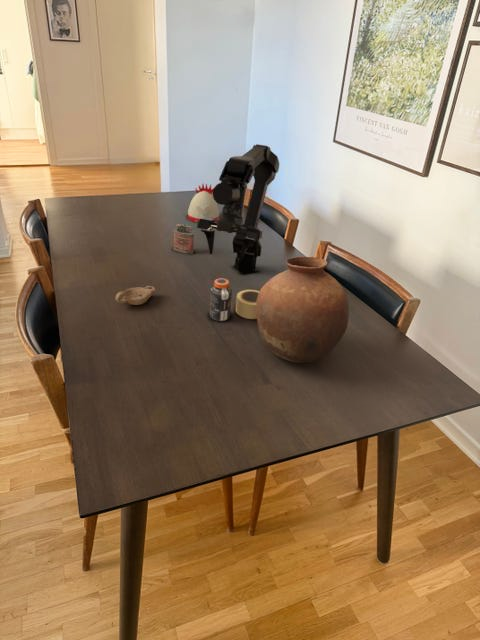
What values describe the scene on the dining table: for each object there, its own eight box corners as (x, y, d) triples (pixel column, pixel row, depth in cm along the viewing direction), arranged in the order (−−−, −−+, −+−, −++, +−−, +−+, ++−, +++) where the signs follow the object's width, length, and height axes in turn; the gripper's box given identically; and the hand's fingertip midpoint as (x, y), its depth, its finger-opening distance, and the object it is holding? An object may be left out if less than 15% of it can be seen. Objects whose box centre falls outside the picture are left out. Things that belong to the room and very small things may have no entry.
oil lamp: (147, 290, 138) (147, 276, 135) (162, 300, 134) (161, 285, 131) (109, 303, 130) (108, 288, 127) (123, 314, 125) (122, 298, 123)
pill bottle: (231, 321, 126) (233, 286, 120) (210, 321, 126) (211, 286, 120) (228, 310, 131) (231, 276, 125) (208, 310, 131) (210, 276, 125)
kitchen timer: (218, 224, 193) (219, 189, 185) (186, 221, 192) (186, 186, 185) (219, 213, 205) (221, 180, 197) (189, 211, 204) (190, 177, 196)
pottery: (318, 390, 104) (339, 296, 91) (235, 353, 113) (243, 264, 100) (352, 345, 121) (373, 261, 108) (277, 317, 130) (288, 236, 117)
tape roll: (255, 301, 138) (257, 287, 135) (271, 315, 131) (273, 300, 128) (230, 306, 133) (231, 292, 131) (245, 321, 127) (246, 306, 124)
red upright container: (171, 249, 166) (171, 224, 160) (176, 246, 168) (176, 221, 163) (191, 254, 163) (191, 228, 158) (195, 251, 166) (196, 225, 161)
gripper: (195, 199, 123) (187, 254, 128) (261, 211, 120) (251, 267, 125) (205, 198, 133) (198, 249, 138) (266, 209, 131) (257, 261, 135)
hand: (225, 257), depth 134 cm, fingers open, 9 cm apart
